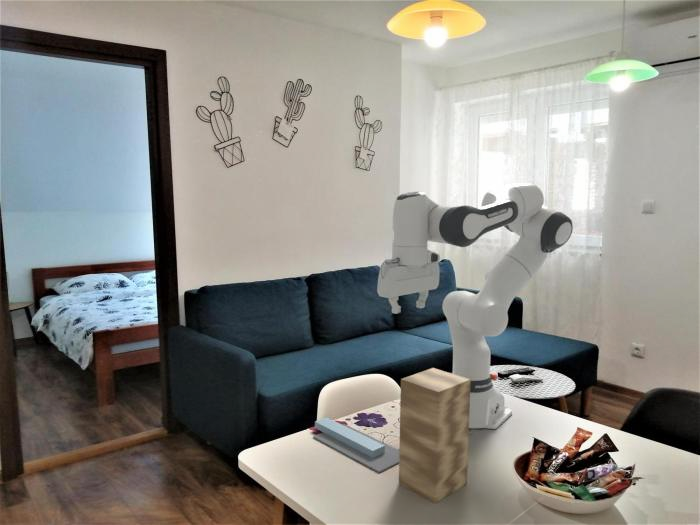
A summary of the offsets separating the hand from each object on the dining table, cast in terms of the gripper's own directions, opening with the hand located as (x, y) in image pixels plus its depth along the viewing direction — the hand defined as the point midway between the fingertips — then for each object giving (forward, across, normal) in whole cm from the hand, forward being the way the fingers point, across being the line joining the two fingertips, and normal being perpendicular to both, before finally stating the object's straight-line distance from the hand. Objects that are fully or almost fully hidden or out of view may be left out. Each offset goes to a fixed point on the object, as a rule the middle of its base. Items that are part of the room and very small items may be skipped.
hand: (408, 310), depth 138 cm
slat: (+39, -6, +16) cm, 42 cm away
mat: (+39, -6, +11) cm, 41 cm away
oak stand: (+39, -6, -14) cm, 42 cm away
